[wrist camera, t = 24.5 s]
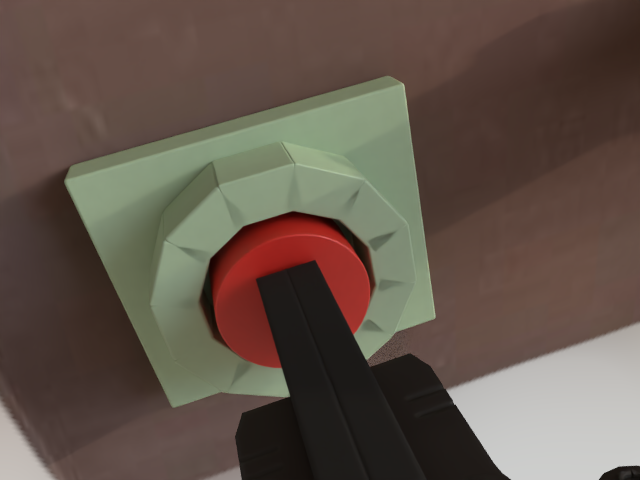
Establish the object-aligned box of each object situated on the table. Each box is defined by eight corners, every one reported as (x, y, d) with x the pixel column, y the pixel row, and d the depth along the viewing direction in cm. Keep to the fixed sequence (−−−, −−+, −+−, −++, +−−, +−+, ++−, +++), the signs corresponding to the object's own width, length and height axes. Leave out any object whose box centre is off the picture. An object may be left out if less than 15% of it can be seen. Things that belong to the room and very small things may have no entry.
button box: (171, 384, 19) (173, 453, 16) (68, 164, 15) (50, 210, 12) (422, 300, 20) (461, 352, 17) (388, 74, 16) (433, 98, 13)
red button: (232, 342, 17) (240, 388, 15) (188, 226, 15) (192, 264, 13) (358, 300, 17) (381, 340, 15) (333, 182, 15) (356, 213, 13)
